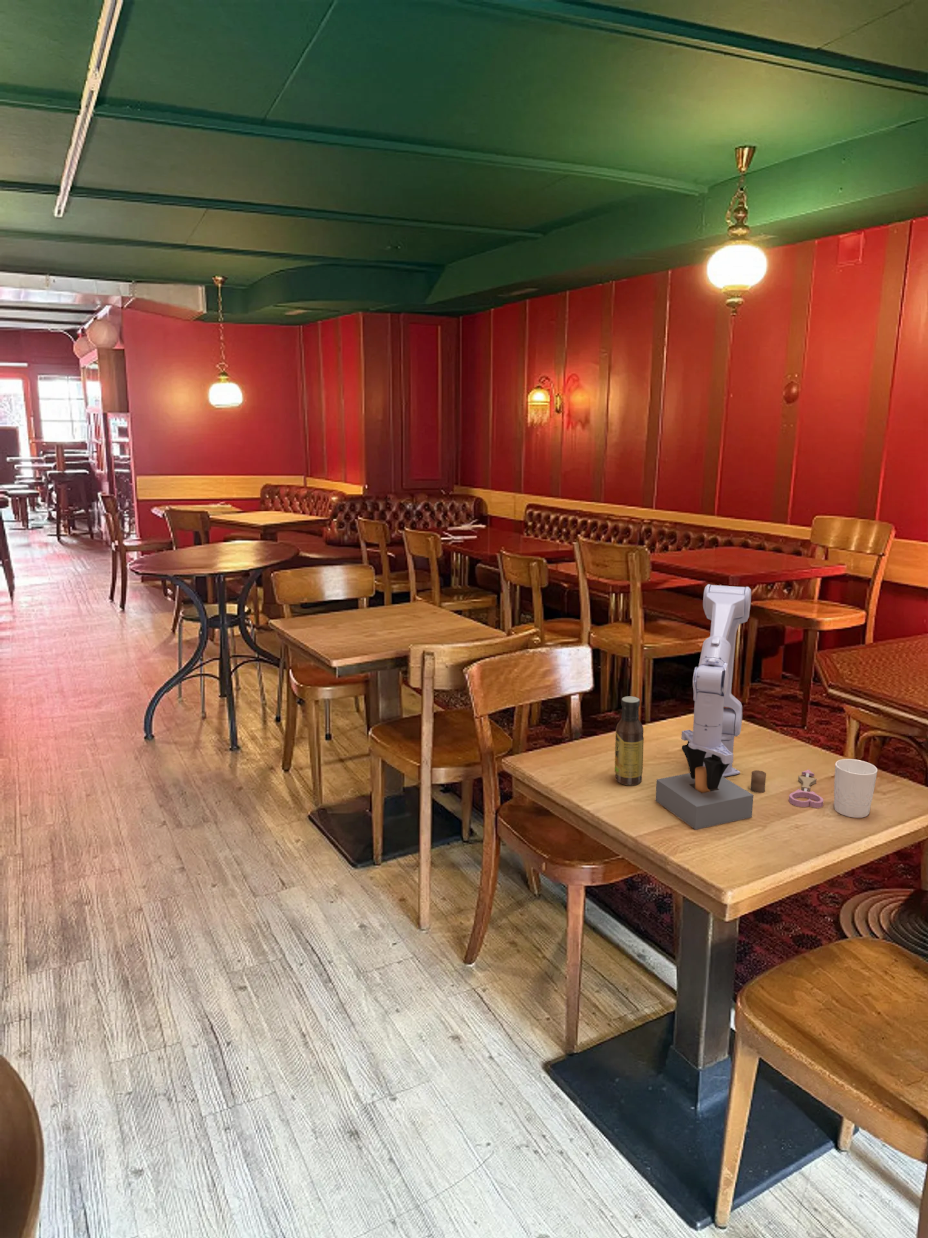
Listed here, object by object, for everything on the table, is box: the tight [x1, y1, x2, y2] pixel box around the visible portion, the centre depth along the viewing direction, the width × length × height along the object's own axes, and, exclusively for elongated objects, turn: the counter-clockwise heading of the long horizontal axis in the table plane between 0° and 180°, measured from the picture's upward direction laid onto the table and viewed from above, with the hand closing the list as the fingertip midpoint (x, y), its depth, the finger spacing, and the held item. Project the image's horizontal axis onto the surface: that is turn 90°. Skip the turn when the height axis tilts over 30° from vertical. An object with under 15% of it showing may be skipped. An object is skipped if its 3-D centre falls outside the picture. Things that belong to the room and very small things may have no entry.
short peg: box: [750, 770, 767, 794], centre depth 180 cm, size 3×3×4 cm
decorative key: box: [788, 768, 824, 809], centre depth 181 cm, size 7×1×20 cm
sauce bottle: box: [614, 695, 645, 786], centre depth 184 cm, size 6×6×20 cm
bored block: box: [655, 772, 754, 830], centre depth 172 cm, size 14×14×5 cm
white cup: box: [833, 758, 878, 819], centre depth 169 cm, size 8×8×10 cm
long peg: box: [695, 766, 710, 793], centre depth 171 cm, size 3×3×9 cm
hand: (704, 783), depth 171 cm, fingers open, 5 cm apart
